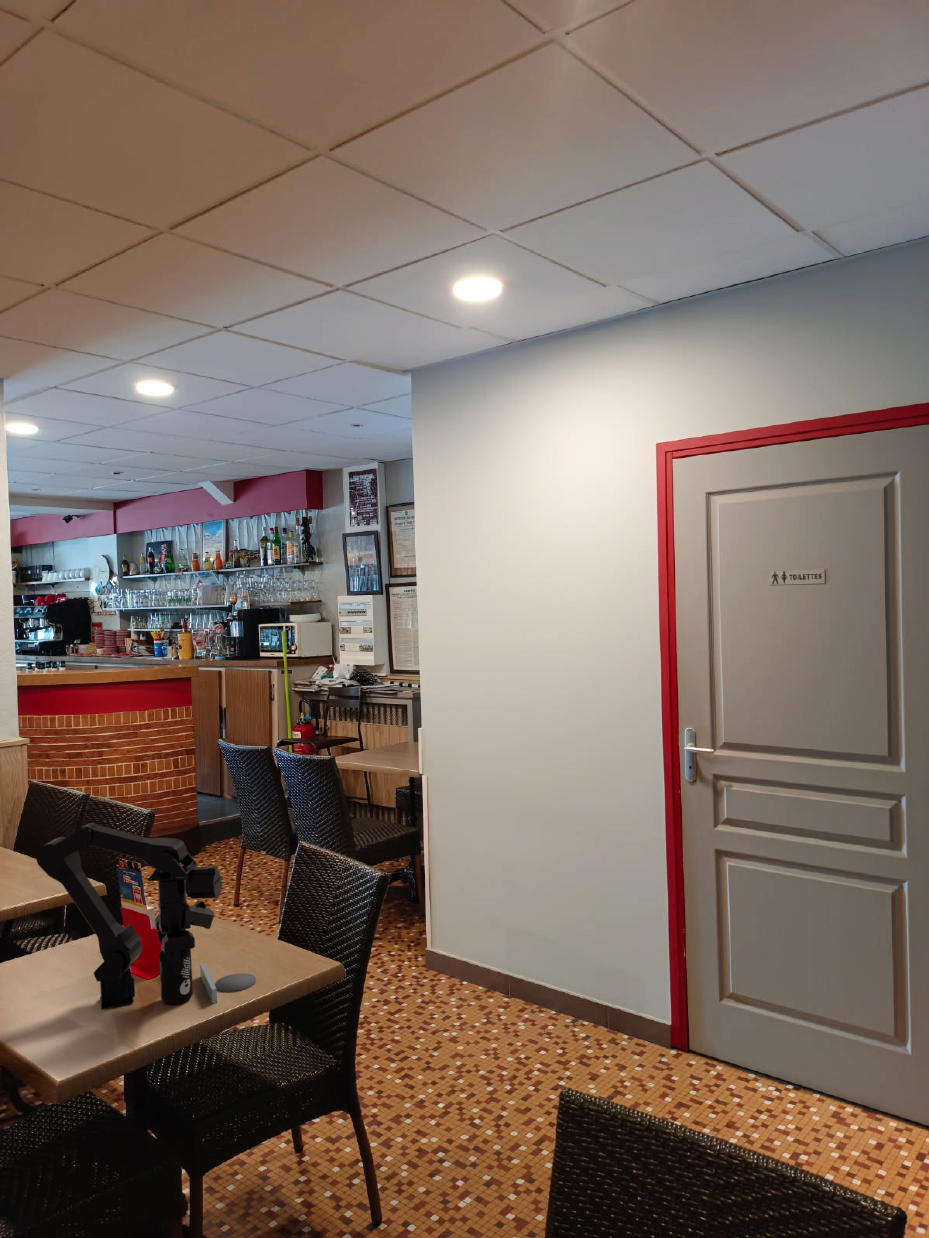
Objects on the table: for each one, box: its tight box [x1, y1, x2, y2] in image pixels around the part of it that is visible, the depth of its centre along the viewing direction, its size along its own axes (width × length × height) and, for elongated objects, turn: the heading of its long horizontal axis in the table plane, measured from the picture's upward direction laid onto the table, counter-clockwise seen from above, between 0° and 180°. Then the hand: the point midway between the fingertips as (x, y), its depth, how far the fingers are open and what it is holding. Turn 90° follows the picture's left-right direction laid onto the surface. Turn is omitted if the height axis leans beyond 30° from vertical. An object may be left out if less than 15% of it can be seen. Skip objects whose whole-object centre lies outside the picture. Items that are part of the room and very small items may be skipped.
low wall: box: [199, 962, 218, 1004], centre depth 202 cm, size 1×16×3 cm, turn 25°
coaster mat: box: [214, 972, 257, 993], centre depth 204 cm, size 9×9×1 cm
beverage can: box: [158, 944, 194, 1006], centre depth 197 cm, size 7×7×12 cm
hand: (175, 969), depth 197 cm, fingers closed on beverage can, 6 cm apart
